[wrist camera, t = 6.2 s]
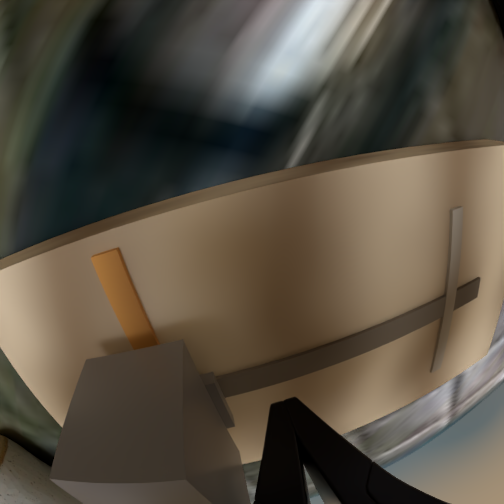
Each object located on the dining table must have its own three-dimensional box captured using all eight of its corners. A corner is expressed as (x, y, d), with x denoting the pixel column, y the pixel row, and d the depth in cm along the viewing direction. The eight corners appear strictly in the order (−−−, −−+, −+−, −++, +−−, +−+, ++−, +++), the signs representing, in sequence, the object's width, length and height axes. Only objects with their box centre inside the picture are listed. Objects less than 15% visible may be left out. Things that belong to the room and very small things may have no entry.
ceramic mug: (7, 417, 11) (-27, 513, 4) (104, 481, 14) (97, 570, 7) (-27, 440, 12) (-50, 503, 5) (44, 490, 15) (34, 553, 8)
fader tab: (193, 325, 8) (203, 476, 4) (245, 440, 10) (268, 538, 6) (82, 350, 8) (39, 477, 3) (160, 454, 10) (163, 548, 6)
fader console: (485, 139, 10) (520, 144, 8) (468, 337, 15) (488, 356, 13) (-7, 262, 8) (-37, 287, 6) (119, 450, 13) (116, 481, 11)
